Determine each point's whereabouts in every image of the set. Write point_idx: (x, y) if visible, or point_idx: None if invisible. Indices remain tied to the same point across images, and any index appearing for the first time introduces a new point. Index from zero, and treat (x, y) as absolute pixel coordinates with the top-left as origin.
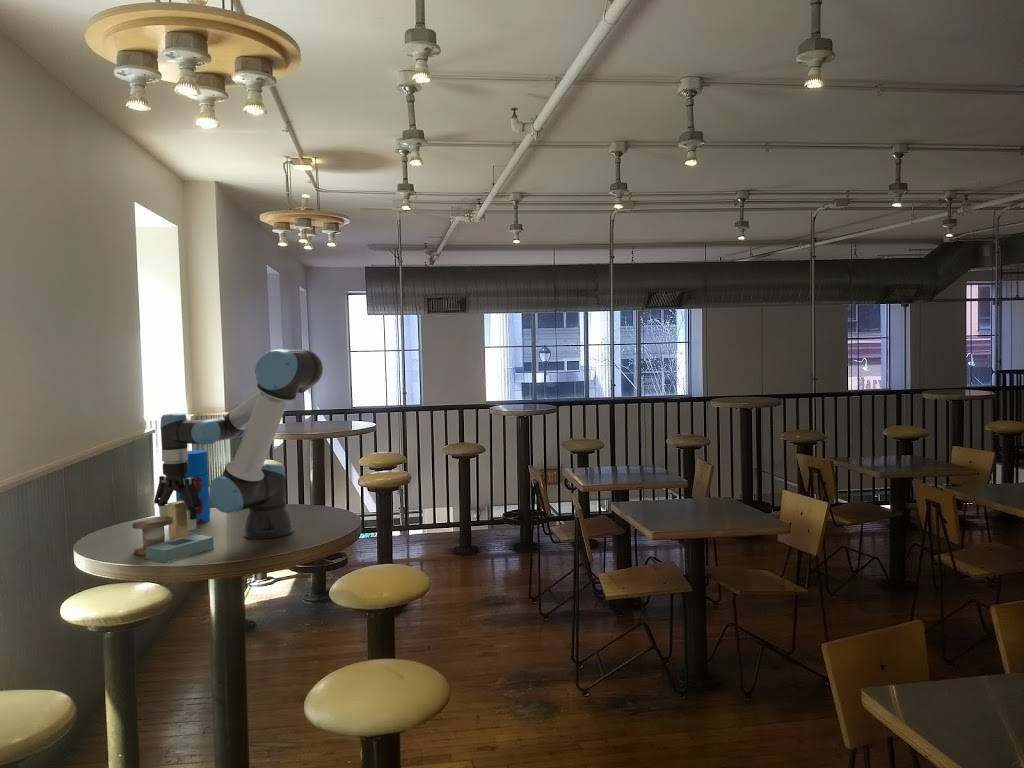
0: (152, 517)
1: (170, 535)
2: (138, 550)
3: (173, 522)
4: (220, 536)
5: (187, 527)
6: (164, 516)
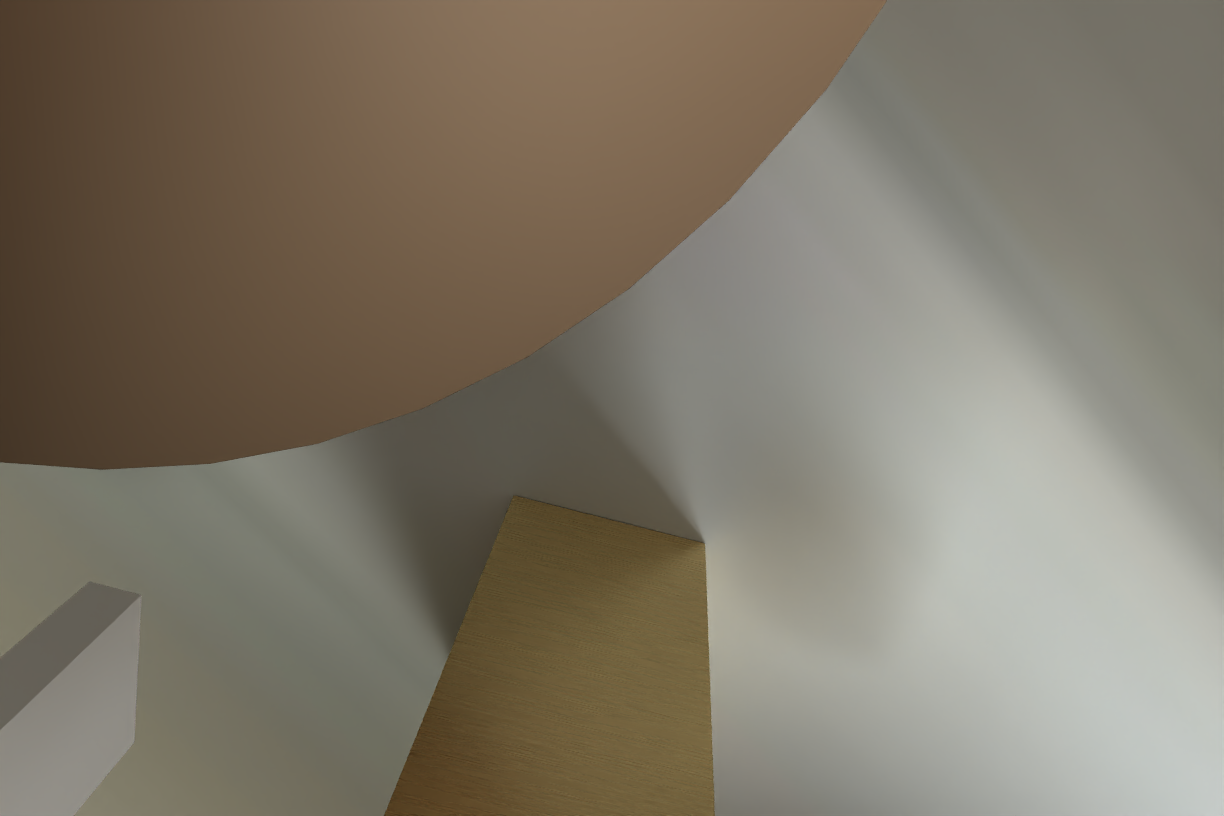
0: (615, 151)
1: (661, 584)
2: None
3: (500, 754)
4: None
5: (91, 630)
6: (144, 438)
